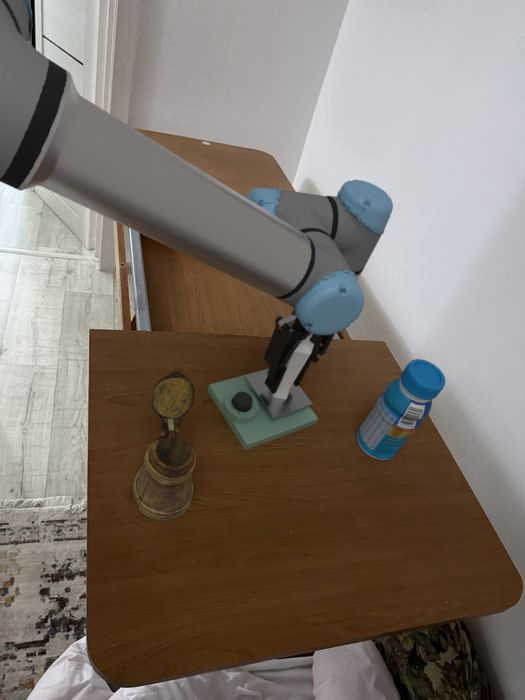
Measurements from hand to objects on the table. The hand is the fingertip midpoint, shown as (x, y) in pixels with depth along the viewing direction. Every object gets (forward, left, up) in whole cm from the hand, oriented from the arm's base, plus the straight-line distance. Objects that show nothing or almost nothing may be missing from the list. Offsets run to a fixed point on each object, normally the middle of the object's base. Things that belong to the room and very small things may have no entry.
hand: (281, 384), depth 91 cm
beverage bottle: (+14, -15, -6) cm, 22 cm away
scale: (-3, 0, -6) cm, 6 cm away
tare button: (-8, 0, -3) cm, 8 cm away
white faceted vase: (0, 0, -2) cm, 2 cm away
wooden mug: (-26, -7, -6) cm, 27 cm away
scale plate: (0, 0, -2) cm, 2 cm away
